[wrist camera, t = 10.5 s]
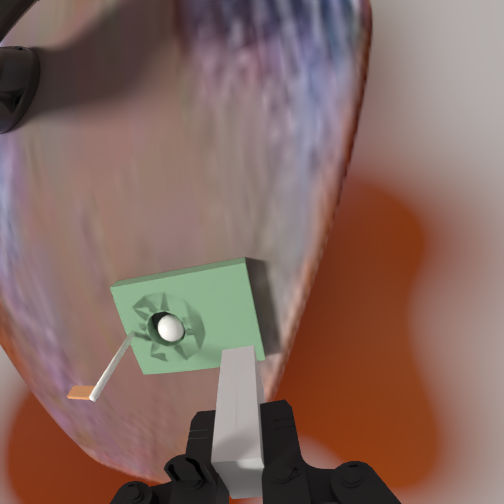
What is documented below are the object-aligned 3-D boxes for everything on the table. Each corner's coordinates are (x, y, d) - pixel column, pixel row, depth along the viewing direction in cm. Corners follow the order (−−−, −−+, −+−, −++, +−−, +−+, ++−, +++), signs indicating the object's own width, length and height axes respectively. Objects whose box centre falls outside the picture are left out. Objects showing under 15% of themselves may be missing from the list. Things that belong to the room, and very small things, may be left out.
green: (133, 366, 41) (96, 440, 25) (101, 284, 38) (37, 340, 22) (264, 349, 41) (274, 436, 25) (245, 257, 37) (246, 316, 21)
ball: (157, 345, 37) (179, 347, 36) (149, 321, 36) (171, 322, 35) (170, 332, 40) (192, 333, 39) (163, 310, 39) (185, 310, 38)
